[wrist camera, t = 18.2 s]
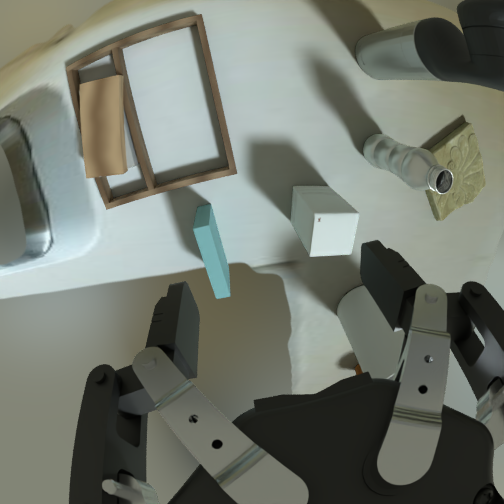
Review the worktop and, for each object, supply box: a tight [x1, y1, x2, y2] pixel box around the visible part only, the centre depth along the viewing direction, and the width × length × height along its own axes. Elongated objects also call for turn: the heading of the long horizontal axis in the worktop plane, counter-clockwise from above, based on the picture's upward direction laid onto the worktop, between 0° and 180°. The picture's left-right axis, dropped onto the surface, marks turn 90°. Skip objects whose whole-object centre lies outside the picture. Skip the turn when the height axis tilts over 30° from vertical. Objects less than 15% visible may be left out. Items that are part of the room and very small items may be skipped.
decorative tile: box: [425, 122, 486, 221], centre depth 47 cm, size 18×20×4 cm
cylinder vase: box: [337, 285, 405, 380], centre depth 54 cm, size 12×12×25 cm
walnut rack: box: [66, 14, 237, 210], centre depth 37 cm, size 24×28×2 cm
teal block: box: [193, 204, 230, 299], centre depth 47 cm, size 2×14×9 cm, turn 11°
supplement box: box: [291, 186, 359, 257], centre depth 44 cm, size 7×7×13 cm
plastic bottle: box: [363, 134, 453, 194], centre depth 36 cm, size 6×7×20 cm
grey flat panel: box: [79, 75, 138, 177], centre depth 36 cm, size 7×16×2 cm, turn 8°
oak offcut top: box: [80, 75, 128, 178], centre depth 34 cm, size 7×16×2 cm, turn 178°
